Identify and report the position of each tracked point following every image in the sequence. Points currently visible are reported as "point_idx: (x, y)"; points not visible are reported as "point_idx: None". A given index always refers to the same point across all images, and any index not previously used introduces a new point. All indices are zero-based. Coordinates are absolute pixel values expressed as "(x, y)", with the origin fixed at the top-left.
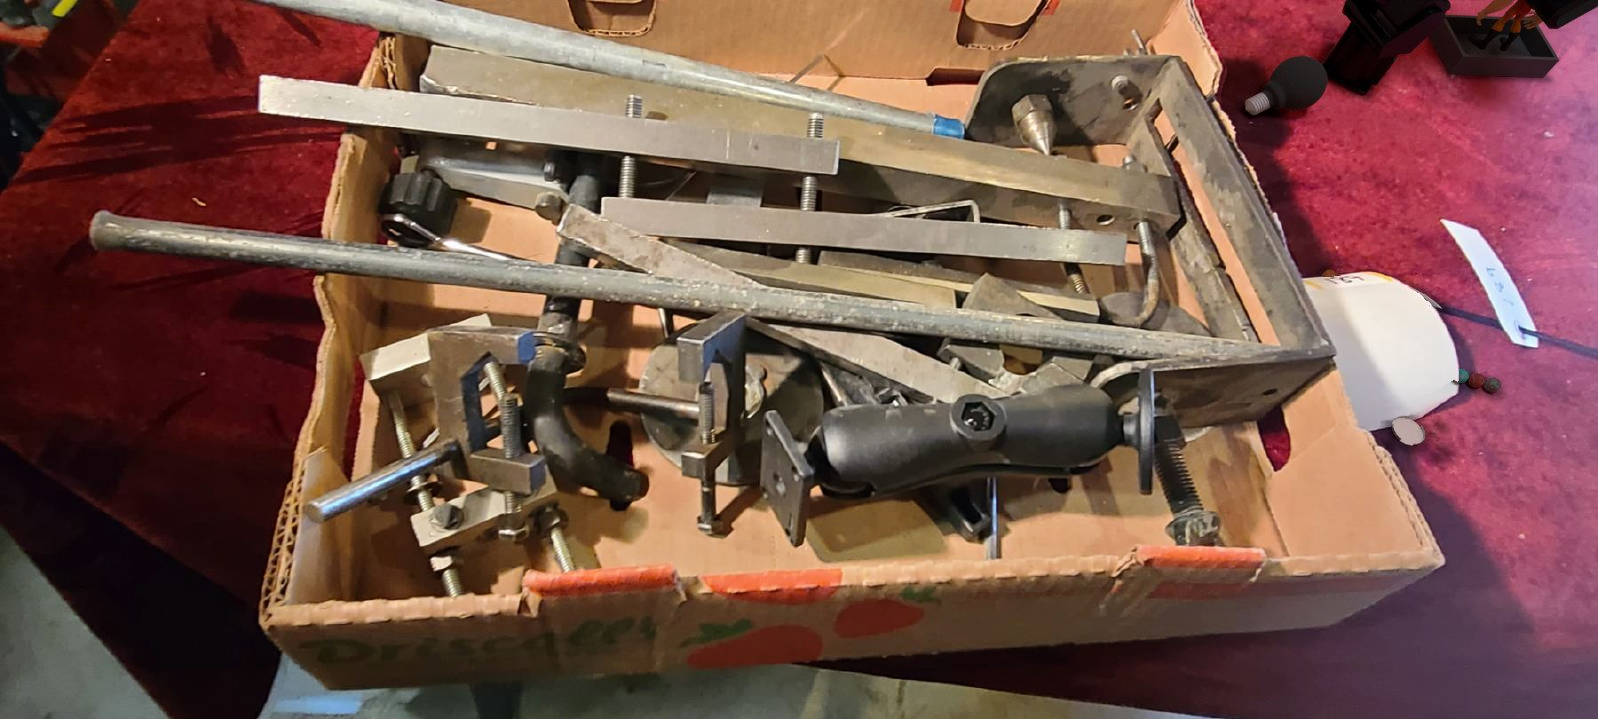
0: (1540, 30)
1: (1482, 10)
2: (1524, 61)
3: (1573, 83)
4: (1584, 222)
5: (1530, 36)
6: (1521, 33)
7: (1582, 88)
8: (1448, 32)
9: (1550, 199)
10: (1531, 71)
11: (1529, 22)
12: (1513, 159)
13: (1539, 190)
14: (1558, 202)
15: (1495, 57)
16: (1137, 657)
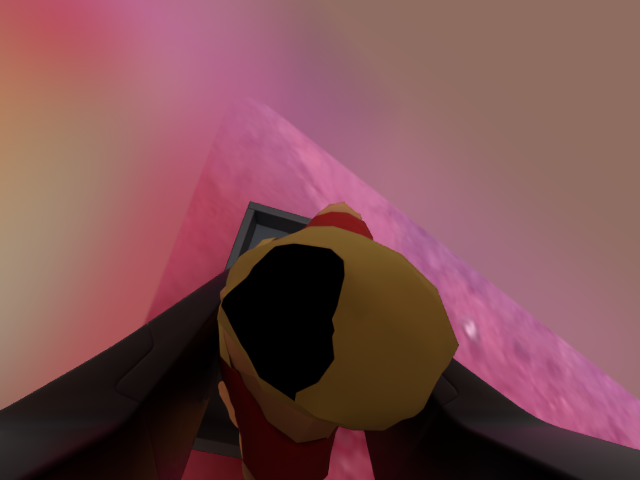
0: (286, 214)
1: (233, 421)
2: None
3: (371, 207)
4: (629, 394)
5: (279, 224)
6: (257, 222)
7: (382, 201)
8: (231, 455)
9: (598, 425)
10: None
11: (254, 213)
12: None
13: (583, 433)
14: (601, 413)
15: None
16: None
